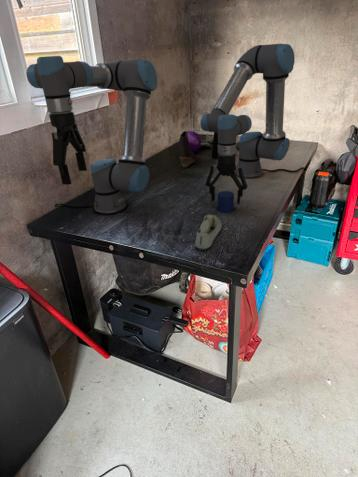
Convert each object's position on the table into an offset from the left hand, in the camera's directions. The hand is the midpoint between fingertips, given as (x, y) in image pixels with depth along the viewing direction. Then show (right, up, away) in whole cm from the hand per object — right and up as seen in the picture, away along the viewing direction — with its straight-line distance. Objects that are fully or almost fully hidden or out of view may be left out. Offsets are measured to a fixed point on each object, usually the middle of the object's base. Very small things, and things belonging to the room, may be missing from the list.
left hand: (75, 177), depth 114 cm
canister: (+57, -8, +37) cm, 69 cm away
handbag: (+66, +36, +111) cm, 134 cm away
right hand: (+57, -5, +36) cm, 67 cm away
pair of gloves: (+59, +51, +138) cm, 159 cm away
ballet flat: (+48, -20, +17) cm, 54 cm away
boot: (+42, +28, +101) cm, 113 cm away
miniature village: (+93, +46, +126) cm, 163 cm away
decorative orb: (+44, +39, +120) cm, 134 cm away
